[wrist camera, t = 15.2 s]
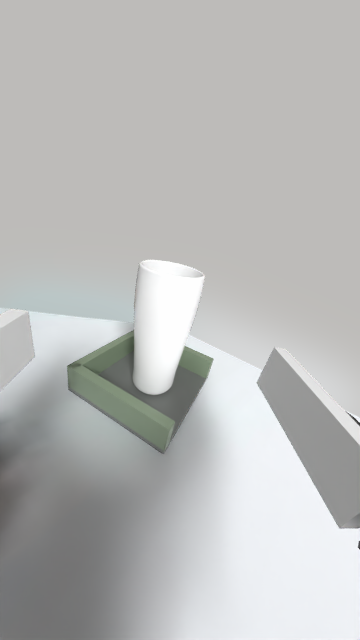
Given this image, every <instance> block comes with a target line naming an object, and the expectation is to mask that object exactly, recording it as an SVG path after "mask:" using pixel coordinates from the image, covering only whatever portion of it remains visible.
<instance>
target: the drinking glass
mask: <svg viewBox="0 0 360 640" xmlns="http://www.w3.org/2000/svg"><path fill="white" fill-rule="evenodd" d="M204 280H205V275H204V274H203V273H202V272H201V271H199V270H196V269H194V268H192V267H188V266H185V265H181V264H177V263H173V262H167V261H159V260H144V261H141V262H140V263H139V268H138V274H137V281H136V289H135V302H134V367H133V376H132V378H133V383H134V385H135V386H136V388H137V389H138V390H140V391H141V392H143V393H145V394H149V395H159V394H162V393H165V392H166V391H168V390H169V389H170V388H171V386H172V384H173V381H174V377H175V373H176V370H177V367H178V364H179V361H180V359H181V356H182V353H183V350H184V347H185V345H186V342H187V339H188V336H189V333H190V331H191V328H192V325H193V322H194V319H195V316H196V313H197V310H198V306H199V303H200V299H201V294H202V289H203V285H204Z"/></svg>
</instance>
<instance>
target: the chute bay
mask: <svg viewBox="0 0 360 640" xmlns="http://www.w3.org/2000/svg"><path fill="white" fill-rule="evenodd" d="M212 362H213V358H211V357H208V356H206V355H204V354H202V353H199V352H197V351H195V350H193V349H190V348H188V347H186V346H185V347H184V350H183V353H182V356H181V359H180V361H179V364H178V367H177V370H176V373H175V377H174V381H173V384H172V386H171V388H170V389H169V390H168V391H166V392H165V393H162V394H159V395H149V394H145V393H143V392H141V391H140V390H138V389H137V388H136V386H135V385H134V383H133V378H132V376H133V367H134V330H133V331H131V332H129V333H127V334H125V335H124V336H122V337H120V338H118V339H116V340H114V341H112V342H111V343H109V344H107V345H105V346H103V347H101V348H99V349H98V350H96V351H94V352H92V353H90V354H88V355H86V356H85V357H83V358H81V359H79V360H77V361H75V362H73V363H72V364H70V365H68V366H67V372H68V387H69V390H70V391H71V392H73V393H74V394H76V395H77V396H79V397H80V398H82V399H83V400H85V401H86V402H88V403H89V404H91V405H92V406H93V407H95V408H96V409H98V410H99V411H101V412H102V413H104V414H105V415H107V416H108V417H110V418H111V419H113V420H114V421H115V422H117V423H118V424H120V425H121V426H123V427H124V428H126V429H127V430H129V431H130V432H132V433H133V434H135V435H136V436H137V437H139V438H140V439H142V440H143V441H145V442H146V443H148V444H149V445H151V446H152V447H154V448H155V449H157V450H158V451H159V452H161V453H162V454H164V452H165V451H166V449H167V447H168V445H169V444H170V442H171V440H172V438H173V437H174V435H175V433H176V432H177V430H178V428H179V426H180V425H181V423H182V421H183V419H184V418H185V416H186V414H187V412H188V411H189V409H190V407H191V405H192V404H193V402H194V400H195V398H196V397H197V395H198V393H199V391H200V390H201V388H202V386H203V384H204V383H205V381H206V379H207V378H208V375H209V372H210V369H211V366H212Z"/></svg>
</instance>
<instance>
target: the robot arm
mask: <svg viewBox="0 0 360 640" xmlns="http://www.w3.org/2000/svg"><path fill="white" fill-rule="evenodd" d="M34 357H35V353H34V346H33V339H32V333H31V326H30V319H29V312H28V311H24V310H17V309H9V310H7V311H5V312H4V313H2V314H0V391H1V390H2V389H3V388H4V387H5V386H6V385H7V384H8V383H9V382H10V381H11V380H12V379H13V378H14V377H15V376H16V375H17V374H18V373H19V372H20V371H21V370H22V369H23V368H24V367H25V366H26V365H27V364H28V363H29V362H30V361H31V360H32V359H33V358H34ZM257 384H258V386H259V388H260V389H261V391H262V393H263V395H264V396H265V398H266V400H267V402H268V403H269V405H270V407H271V409H272V411H273V412H274V414H275V416H276V418H277V419H278V421H279V423H280V425H281V426H282V428H283V430H284V432H285V433H286V435H287V437H288V439H289V441H290V442H291V444H292V446H293V448H294V449H295V451H296V453H297V455H298V456H299V458H300V460H301V462H302V464H303V465H304V467H305V469H306V471H307V472H308V474H309V476H310V478H311V479H312V481H313V483H314V485H315V486H316V488H317V490H318V492H319V494H320V495H321V497H322V499H323V501H324V502H325V504H326V506H327V508H328V509H329V511H330V513H331V515H332V516H333V518H334V520H335V522H336V524H337V525H338V527H339V528H360V423H359V422H358V421H357V420H356V419H355V418H354V417H353V416H351V415H350V414H349V413H347V412H346V411H345V410H344V409H343V408H342V407H341V406H340V405H339V404H338V403H337V402H336V401H335V400H334V399H333V398H332V397H331V396H330V395H329V394H328V393H327V392H326V391H325V389H324V388H323V387H322V386H321V385H320V384H319V383H318V382H317V381H316V380H315V379H314V378H313V377H312V376H311V375H310V374H309V373H308V372H307V371H306V369H305V368H303V366H302V365H301V364H300V363H299V362H298V361H297V360H296V359H295V358H294V357H293V356H292V355H291V354H290V353H289V352H288V351H287V350H286V349H282V348H275V347H274V349H273V351H272V353H271V355H270V357H269V359H268V361H267V363H266V365H265V367H264V369H263V371H262V373H261V375H260V377H259V379H258V381H257ZM358 548H359V549H360V541H359V545H358Z"/></svg>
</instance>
